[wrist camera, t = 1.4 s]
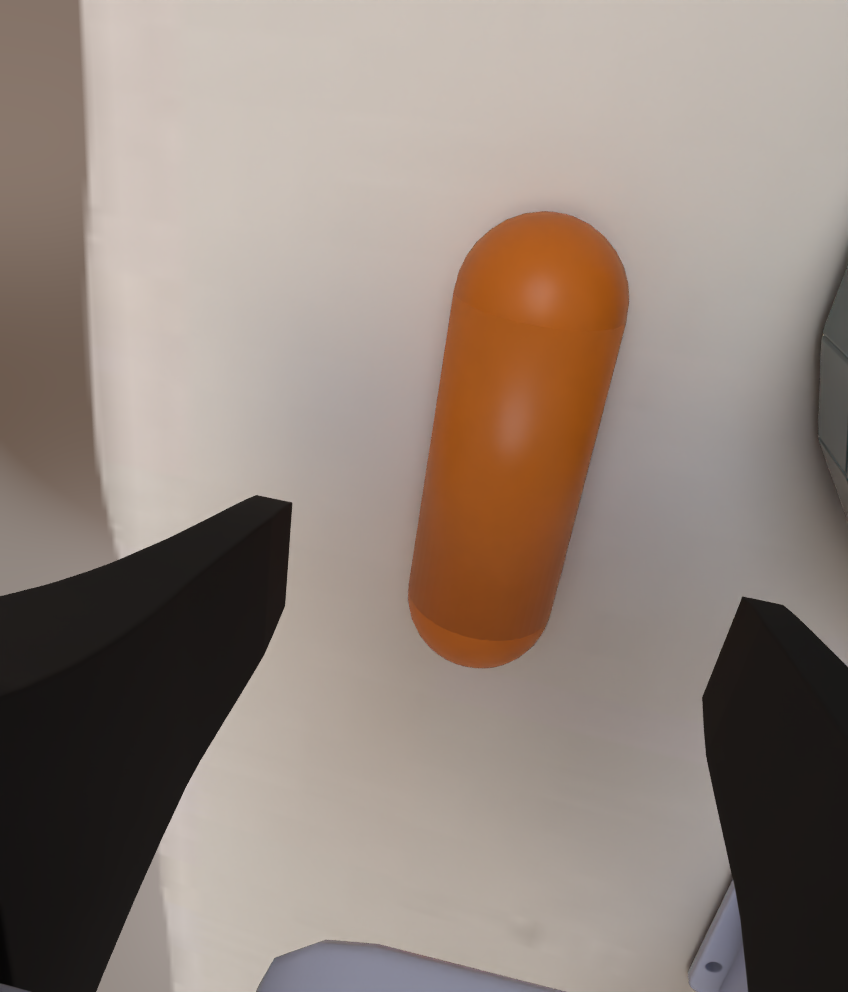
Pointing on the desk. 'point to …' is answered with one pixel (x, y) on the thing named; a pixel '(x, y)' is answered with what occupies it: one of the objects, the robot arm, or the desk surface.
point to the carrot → (514, 433)
